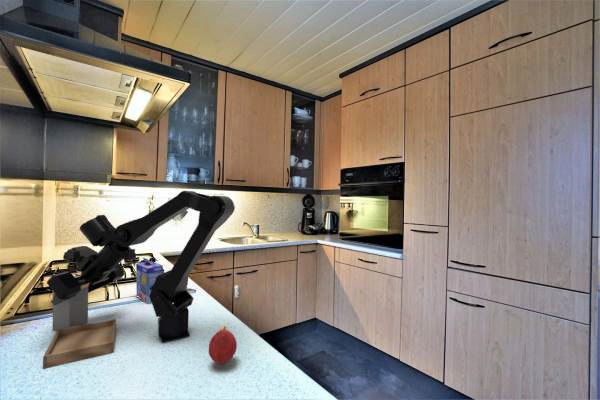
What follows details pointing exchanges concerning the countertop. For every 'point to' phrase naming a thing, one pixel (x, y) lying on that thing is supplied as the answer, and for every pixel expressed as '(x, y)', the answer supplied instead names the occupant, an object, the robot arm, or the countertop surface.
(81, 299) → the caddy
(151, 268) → the ink cartridge box
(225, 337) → the onion
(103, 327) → the tray
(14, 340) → the countertop surface
